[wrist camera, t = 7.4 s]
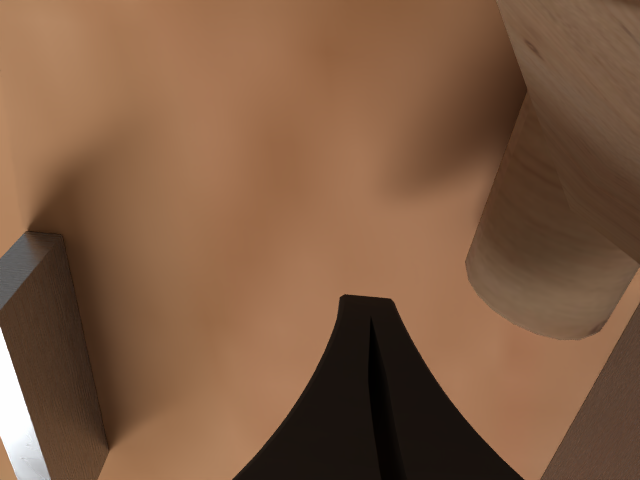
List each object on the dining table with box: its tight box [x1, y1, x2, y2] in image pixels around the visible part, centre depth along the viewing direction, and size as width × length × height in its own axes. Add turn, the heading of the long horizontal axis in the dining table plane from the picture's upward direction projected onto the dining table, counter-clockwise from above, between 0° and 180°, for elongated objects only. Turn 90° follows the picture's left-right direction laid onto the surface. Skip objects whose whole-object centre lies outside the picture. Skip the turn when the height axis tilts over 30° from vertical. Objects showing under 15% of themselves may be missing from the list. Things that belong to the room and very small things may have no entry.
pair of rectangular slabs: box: [0, 231, 640, 480], centre depth 19 cm, size 22×12×4 cm, turn 85°
